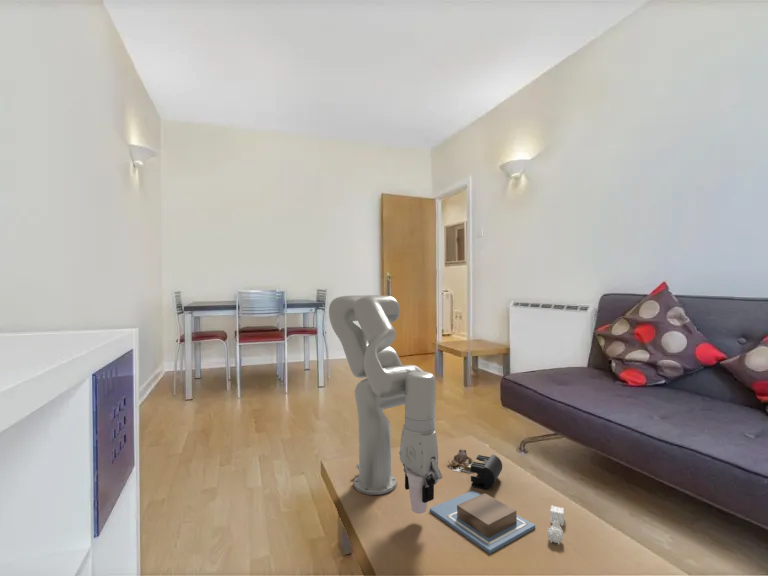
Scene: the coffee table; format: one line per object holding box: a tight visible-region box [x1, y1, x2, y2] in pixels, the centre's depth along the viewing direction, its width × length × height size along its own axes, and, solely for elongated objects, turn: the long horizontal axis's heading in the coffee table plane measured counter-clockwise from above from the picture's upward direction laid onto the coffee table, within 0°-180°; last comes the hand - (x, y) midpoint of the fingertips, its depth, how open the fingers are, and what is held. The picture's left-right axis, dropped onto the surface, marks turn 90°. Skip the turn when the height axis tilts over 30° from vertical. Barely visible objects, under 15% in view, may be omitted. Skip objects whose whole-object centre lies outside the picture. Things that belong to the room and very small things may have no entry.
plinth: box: [457, 493, 518, 538], centre depth 96 cm, size 10×10×3 cm
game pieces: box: [546, 505, 565, 545], centre depth 92 cm, size 12×3×3 cm, turn 153°
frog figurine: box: [447, 449, 475, 474], centre depth 129 cm, size 12×12×4 cm
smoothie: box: [405, 468, 430, 515], centre depth 97 cm, size 6×6×14 cm
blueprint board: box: [429, 490, 536, 555], centre depth 97 cm, size 20×16×1 cm
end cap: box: [470, 454, 503, 491], centre depth 116 cm, size 10×7×7 cm
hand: (419, 493), depth 97 cm, fingers closed on smoothie, 6 cm apart
